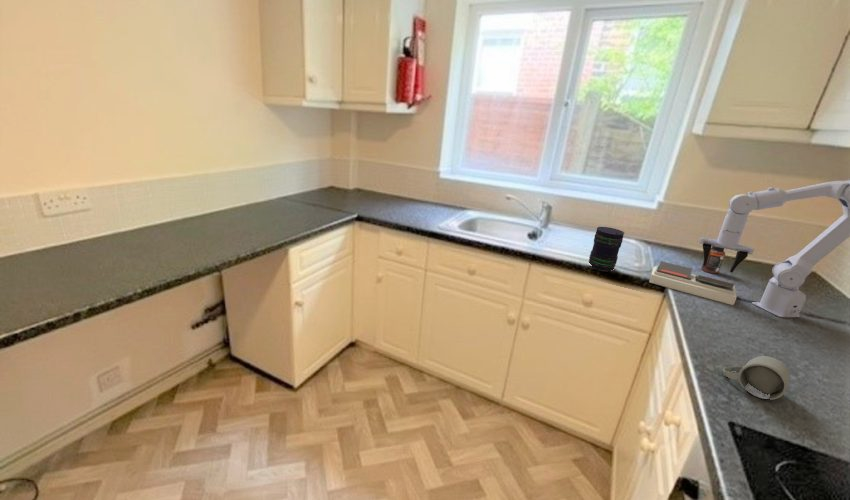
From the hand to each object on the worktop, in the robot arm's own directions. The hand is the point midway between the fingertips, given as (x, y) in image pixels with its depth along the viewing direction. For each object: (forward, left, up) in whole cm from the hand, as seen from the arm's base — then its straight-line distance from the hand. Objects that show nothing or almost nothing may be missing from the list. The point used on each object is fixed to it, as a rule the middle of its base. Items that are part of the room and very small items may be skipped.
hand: (717, 268), depth 132 cm
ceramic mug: (-47, +36, -10) cm, 60 cm away
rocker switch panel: (+4, +4, -9) cm, 11 cm away
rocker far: (+8, +8, -5) cm, 12 cm away
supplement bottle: (+20, -21, -10) cm, 30 cm away
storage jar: (+23, +27, -10) cm, 37 cm away
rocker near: (0, 0, -5) cm, 5 cm away
